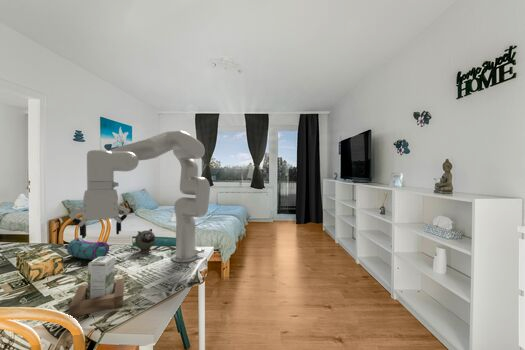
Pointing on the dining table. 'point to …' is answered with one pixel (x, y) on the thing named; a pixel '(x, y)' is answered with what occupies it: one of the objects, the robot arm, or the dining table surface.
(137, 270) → the dining table surface
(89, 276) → the syrup box
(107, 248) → the pencil case
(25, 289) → the dining table surface
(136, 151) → the robot arm
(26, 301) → the dining table surface
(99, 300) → the walnut collar
